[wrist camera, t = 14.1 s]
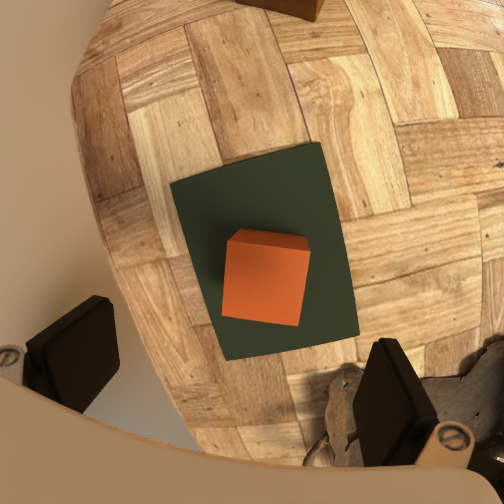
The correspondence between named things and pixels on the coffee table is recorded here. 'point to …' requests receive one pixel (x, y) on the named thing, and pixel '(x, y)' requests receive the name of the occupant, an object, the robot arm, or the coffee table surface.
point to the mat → (272, 220)
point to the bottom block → (290, 7)
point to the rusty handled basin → (443, 399)
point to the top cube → (265, 276)
